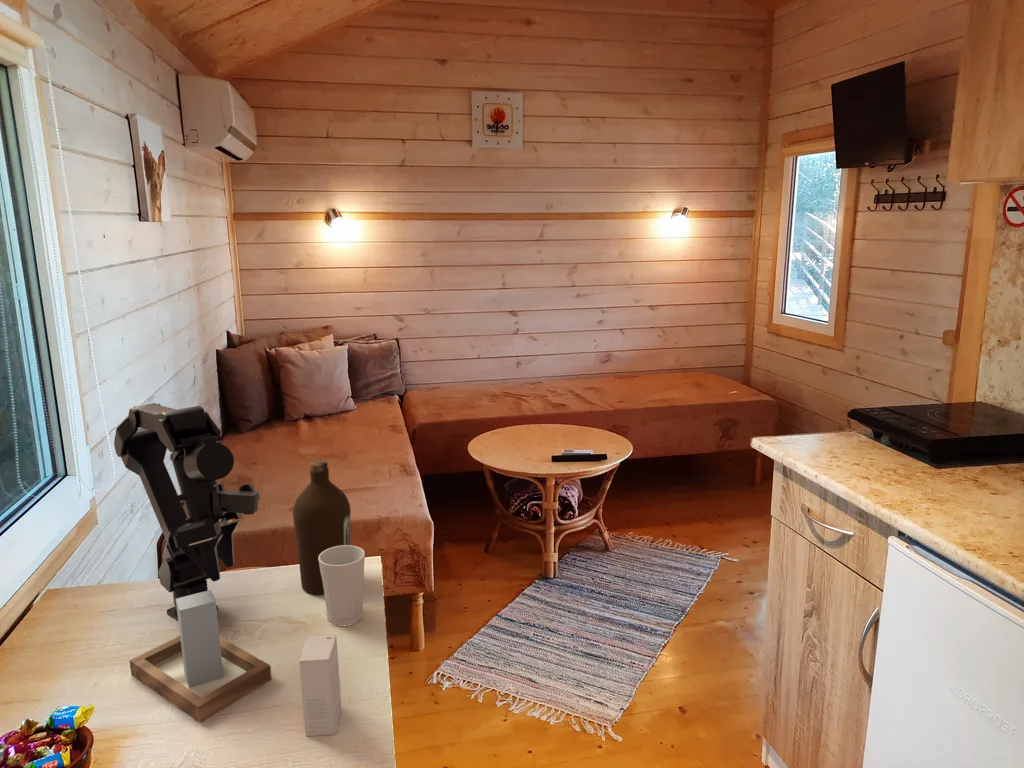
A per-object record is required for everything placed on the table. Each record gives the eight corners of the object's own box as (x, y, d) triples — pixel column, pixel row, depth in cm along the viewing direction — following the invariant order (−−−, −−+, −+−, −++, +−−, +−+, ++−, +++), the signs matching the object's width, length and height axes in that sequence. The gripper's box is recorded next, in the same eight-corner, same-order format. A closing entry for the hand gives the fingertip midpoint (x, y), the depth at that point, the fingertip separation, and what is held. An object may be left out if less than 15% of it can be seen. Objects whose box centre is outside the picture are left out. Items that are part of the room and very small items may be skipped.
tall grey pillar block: (184, 674, 112) (175, 598, 109) (218, 664, 115) (210, 589, 112) (188, 688, 109) (179, 610, 106) (223, 677, 112) (215, 601, 109)
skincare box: (312, 708, 105) (306, 635, 103) (341, 707, 106) (337, 633, 103) (304, 737, 99) (298, 660, 97) (335, 736, 100) (330, 659, 97)
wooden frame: (131, 674, 113) (129, 660, 113) (201, 638, 123) (200, 625, 122) (199, 722, 102) (198, 707, 102) (271, 679, 112) (270, 665, 111)
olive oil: (297, 600, 135) (288, 474, 129) (299, 574, 145) (290, 455, 139) (355, 593, 137) (348, 469, 132) (353, 568, 147) (346, 451, 142)
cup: (357, 631, 125) (353, 567, 122) (314, 626, 126) (310, 563, 124) (374, 607, 133) (371, 547, 130) (334, 602, 134) (330, 543, 131)
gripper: (234, 475, 111) (261, 572, 111) (258, 463, 129) (282, 546, 130) (159, 496, 109) (188, 594, 110) (195, 480, 128) (219, 565, 128)
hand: (223, 573), depth 119 cm, fingers open, 9 cm apart
